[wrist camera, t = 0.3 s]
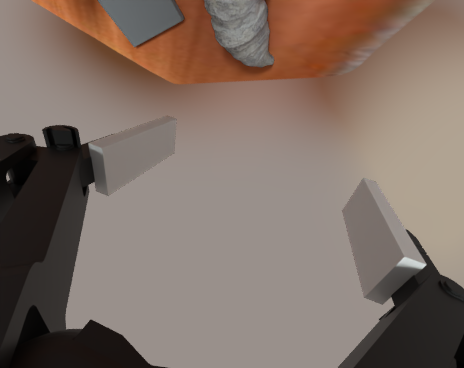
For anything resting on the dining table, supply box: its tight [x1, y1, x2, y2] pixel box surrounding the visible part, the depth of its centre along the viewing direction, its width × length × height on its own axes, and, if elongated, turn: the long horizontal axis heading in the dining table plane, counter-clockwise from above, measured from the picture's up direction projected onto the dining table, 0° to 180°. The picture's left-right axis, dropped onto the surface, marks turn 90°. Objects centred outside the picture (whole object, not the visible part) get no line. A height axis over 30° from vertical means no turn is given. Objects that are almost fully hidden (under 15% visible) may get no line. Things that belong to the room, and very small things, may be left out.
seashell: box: [204, 0, 274, 67], centre depth 34 cm, size 16×15×10 cm
